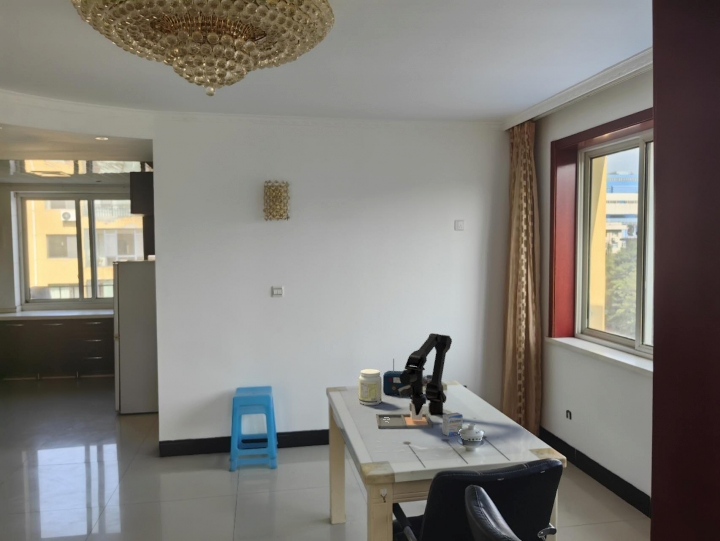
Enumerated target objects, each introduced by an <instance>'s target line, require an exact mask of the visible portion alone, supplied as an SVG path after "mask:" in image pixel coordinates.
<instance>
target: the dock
mask: <svg viewBox="0 0 720 541" xmlns="http://www.w3.org/2000/svg"><path fill="white" fill-rule="evenodd" d="M410 416H411V413H376V414H375V418H376V423H377V428H378V429H380V430H381V429H383V428H384V429H386V428H388V429H433V428H434V424H433V423H432V420H431V419H430V416H429V415H428V413H422V420H411V417H410ZM384 417H389V418H390V420H387V419H389V418H384ZM383 419H386V420H383ZM385 421H388V422H389V423H388V422H385Z"/></svg>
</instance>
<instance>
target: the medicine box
mask: <svg viewBox="0 0 720 541" xmlns="http://www.w3.org/2000/svg"><path fill="white" fill-rule="evenodd" d="M463 416H464V415H463V414H462V413H460V412H452V413H445V414H444V415H442V434H443V435H445V436H447V437H452V435H453V436H457V435H456V434H458V432H459V430H460V429H462V430H463ZM458 435H459V434H458Z"/></svg>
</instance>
